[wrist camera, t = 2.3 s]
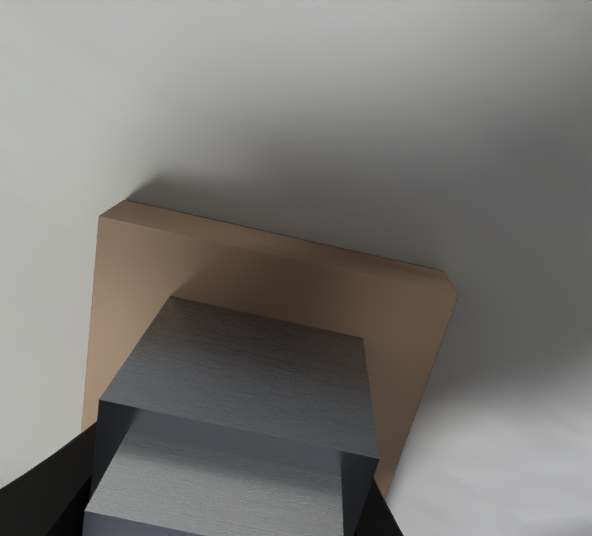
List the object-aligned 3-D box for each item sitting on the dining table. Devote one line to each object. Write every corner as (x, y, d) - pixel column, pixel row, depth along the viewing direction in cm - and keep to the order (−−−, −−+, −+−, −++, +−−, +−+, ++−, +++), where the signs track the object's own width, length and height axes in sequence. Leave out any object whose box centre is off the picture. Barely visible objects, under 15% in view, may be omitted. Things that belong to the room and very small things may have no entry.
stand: (443, 271, 13) (458, 295, 12) (344, 560, 17) (346, 605, 15) (124, 199, 13) (98, 216, 11) (93, 507, 16) (71, 549, 15)
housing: (362, 337, 12) (391, 544, 7) (298, 556, 15) (281, 829, 9) (169, 295, 12) (48, 472, 7) (138, 522, 14) (30, 780, 9)
